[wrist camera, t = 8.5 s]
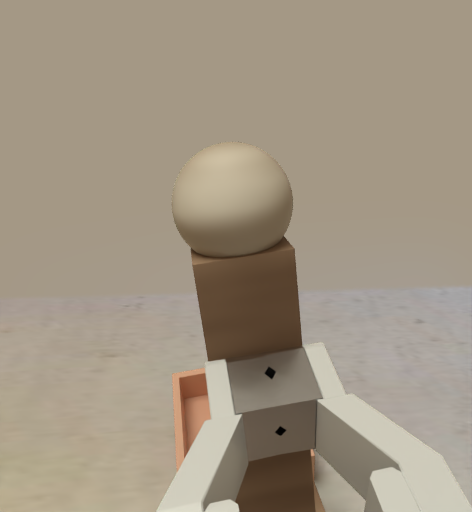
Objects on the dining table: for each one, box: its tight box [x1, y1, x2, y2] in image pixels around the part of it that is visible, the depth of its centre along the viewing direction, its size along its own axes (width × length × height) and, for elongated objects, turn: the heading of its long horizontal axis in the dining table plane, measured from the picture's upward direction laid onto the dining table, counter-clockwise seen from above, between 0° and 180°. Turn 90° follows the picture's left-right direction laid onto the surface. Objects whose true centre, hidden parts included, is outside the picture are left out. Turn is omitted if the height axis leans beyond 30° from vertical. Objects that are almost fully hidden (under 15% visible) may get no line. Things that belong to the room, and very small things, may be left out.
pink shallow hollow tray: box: [172, 368, 315, 480], centre depth 37 cm, size 10×10×4 cm
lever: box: [172, 142, 325, 512], centre depth 19 cm, size 14×12×22 cm
